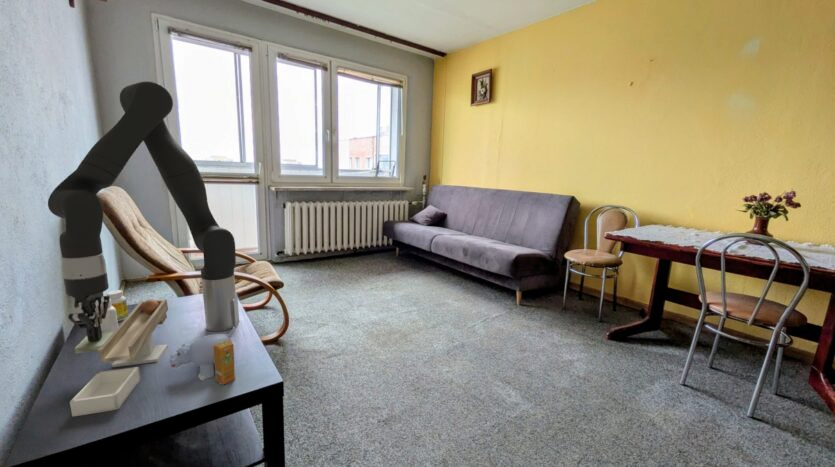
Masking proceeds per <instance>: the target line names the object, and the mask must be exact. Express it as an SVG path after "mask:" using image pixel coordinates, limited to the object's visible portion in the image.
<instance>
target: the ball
mask: <svg viewBox="0 0 835 467" xmlns="http://www.w3.org/2000/svg"><path fill="white" fill-rule="evenodd" d="M144 301H145V302H144V303H143V304H142V310H143V311H144V312H145V313H153V312H154V311H155V310H156V309H157V308H158V306H159V304H158V302H157V301H156V299H147V300H144Z"/></svg>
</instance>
